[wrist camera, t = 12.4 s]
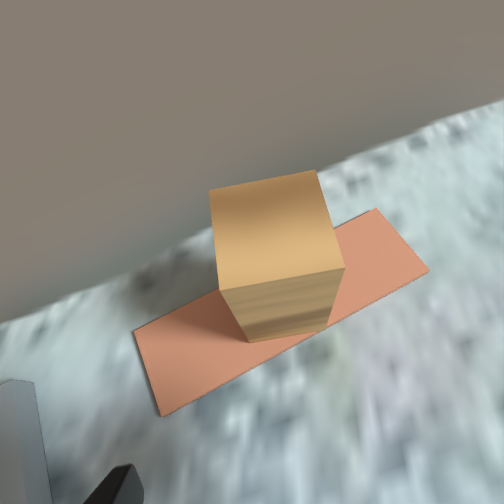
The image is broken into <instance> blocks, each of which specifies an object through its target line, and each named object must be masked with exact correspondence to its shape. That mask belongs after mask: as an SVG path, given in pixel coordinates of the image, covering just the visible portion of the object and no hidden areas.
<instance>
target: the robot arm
mask: <svg viewBox="0 0 504 504" xmlns="http://www.w3.org/2000/svg"><path fill="white" fill-rule="evenodd" d="M143 501H144V489H143V486H142V483H141V481H140V478H139V476H138V473H137V471H136V468H135V466H134V465H133V464H124V465H119V466H116V467H114V468H113V469H112V470H111V471H110V473H109V474H108V475H107V476H106V477H105V478H104V480H103V481H102V482H101V483H100V484H99V486H98V487H97V488H96V489H95V490H94V491H93V493H92V494H91V495H90V496H89V497H88V498H87V500H86V501H85V502H84V503H83V504H143Z"/></svg>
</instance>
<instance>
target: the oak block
mask: <svg viewBox="0 0 504 504" xmlns="http://www.w3.org/2000/svg"><path fill="white" fill-rule="evenodd" d="M209 200H210V209H211V218H212V227H213V236H214V245H215V254H216V263H217V272H218V281H219V290H220V292H221V294H222V296H223V297H224V299H225V301H226V303H227V304H228V306H229V308H230V310H231V311H232V313H233V315H234V316H235V318H236V320H237V322H238V323H239V325H240V327H241V329H242V330H243V332H244V334H245V336H246V337H247V339H248V341H249V342H250V343H255V342H260V341H266V340H272V339H277V338H283V337H289V336H294V335H300V334H305V333H311V332H317V331H322V330H325V329H326V326H327V323H328V320H329V317H330V314H331V310H332V307H333V304H334V301H335V298H336V295H337V292H338V289H339V286H340V283H341V280H342V277H343V274H344V271H345V264H344V261H343V258H342V254H341V251H340V248H339V245H338V241H337V238H336V235H335V232H334V229H333V225H332V222H331V219H330V216H329V212H328V209H327V206H326V203H325V200H324V196H323V193H322V190H321V187H320V183H319V180H318V177H317V174H316V171H315V170H311V171H306V172H300V173H295V174H291V175H285V176H280V177H275V178H270V179H265V180H259V181H255V182H249V183H244V184H239V185H234V186H229V187H223V188H218V189H213V190H209Z"/></svg>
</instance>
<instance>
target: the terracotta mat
mask: <svg viewBox="0 0 504 504" xmlns="http://www.w3.org/2000/svg"><path fill="white" fill-rule="evenodd" d="M334 232H335V235H336V238H337V241H338V245H339V248H340V251H341V254H342V258H343V261H344V264H345V271H344V274H343V277H342V280H341V283H340V286H339V289H338V292H337V295H336V298H335V301H334V304H333V307H332V310H331V314H330V317H329V320H328V323H327V326H326V328H328V327H330V326H332V325H333V324H335V323H337V322H339V321H341V320H343V319H344V318H346V317H348V316H350V315H352V314H354V313H355V312H357V311H359V310H361V309H363V308H365V307H366V306H368V305H370V304H372V303H374V302H376V301H377V300H379V299H381V298H383V297H385V296H387V295H388V294H390V293H392V292H394V291H396V290H397V289H399V288H401V287H403V286H405V285H407V284H408V283H410V282H412V281H414V280H416V279H418V278H419V277H421V276H423V275H425V274H427V273H428V272H429V271H430V270H429V268H428V267H427V266H426V265H425V264H424V263H423V261H422V260H421V259H420V258H419V257H418V256H417V255H416V253H415V252H414V251H413V250H412V249H411V248H410V246H409V245H408V244H407V243H406V242H405V241H404V239H403V238H402V237H401V236H400V235H399V234H398V232H397V231H396V230H395V229H394V228H393V227H392V225H391V224H390V223H389V222H388V221H387V220H386V218H385V217H384V216H383V215H382V214H381V213H380V211H379V210H378V209H377V208H375V209H373V210H371V211H369V212H367V213H365V214H363V215H361V216H359V217H357V218H355V219H353V220H351V221H349V222H347V223H345V224H343V225H341V226H339V227H337V228H335V229H334ZM322 331H323V330H322ZM319 332H321V331H317V332H311V333H305V334H300V335H294V336H289V337H283V338H277V339H272V340H266V341H260V342H255V343H250V342H249V341H248V339H247V337H246V336H245V334H244V332H243V330H242V329H241V327H240V325H239V323H238V322H237V320H236V318H235V316H234V315H233V313H232V311H231V310H230V308H229V306H228V304H227V303H226V301H225V299H224V297H223V296H222V294H221V292H220V290H219V288H218V289H216V290H214V291H212V292H210V293H208V294H206V295H204V296H202V297H200V298H198V299H196V300H194V301H192V302H190V303H188V304H186V305H184V306H182V307H180V308H178V309H176V310H174V311H173V312H171V313H169V314H167V315H165V316H163V317H161V318H159V319H157V320H155V321H153V322H151V323H149V324H147V325H145V326H143V327H141V328H139V329H137V330H135V331H134V334H135V337H136V340H137V343H138V346H139V349H140V352H141V355H142V358H143V361H144V365H145V368H146V371H147V374H148V377H149V380H150V383H151V386H152V389H153V392H154V395H155V398H156V402H157V405H158V408H159V411H160V414H161V417H165V416H167V415H169V414H171V413H173V412H174V411H176V410H178V409H180V408H182V407H184V406H185V405H187V404H189V403H191V402H193V401H195V400H196V399H198V398H200V397H202V396H204V395H206V394H207V393H209V392H211V391H213V390H215V389H216V388H218V387H220V386H222V385H224V384H226V383H227V382H229V381H231V380H233V379H235V378H237V377H238V376H240V375H242V374H244V373H246V372H248V371H249V370H251V369H253V368H255V367H257V366H259V365H260V364H262V363H264V362H266V361H268V360H270V359H271V358H273V357H275V356H277V355H279V354H280V353H282V352H284V351H286V350H288V349H290V348H291V347H293V346H295V345H297V344H299V343H301V342H302V341H304V340H306V339H308V338H310V337H312V336H313V335H315V334H317V333H319Z"/></svg>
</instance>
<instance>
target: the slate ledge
mask: <svg viewBox="0 0 504 504" xmlns="http://www.w3.org/2000/svg"><path fill="white" fill-rule="evenodd" d="M0 504H52V497H51V491H50V485H49V478H48V472H47V466H46V459H45V453H44V447H43V440H42V434H41V428H40V421H39V415H38V409H37V402H36V396H35V390H34V383H32V382H26V381H19V380H12V379H11V380H9V381H7V382H5V383H3V384H1V385H0Z"/></svg>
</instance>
